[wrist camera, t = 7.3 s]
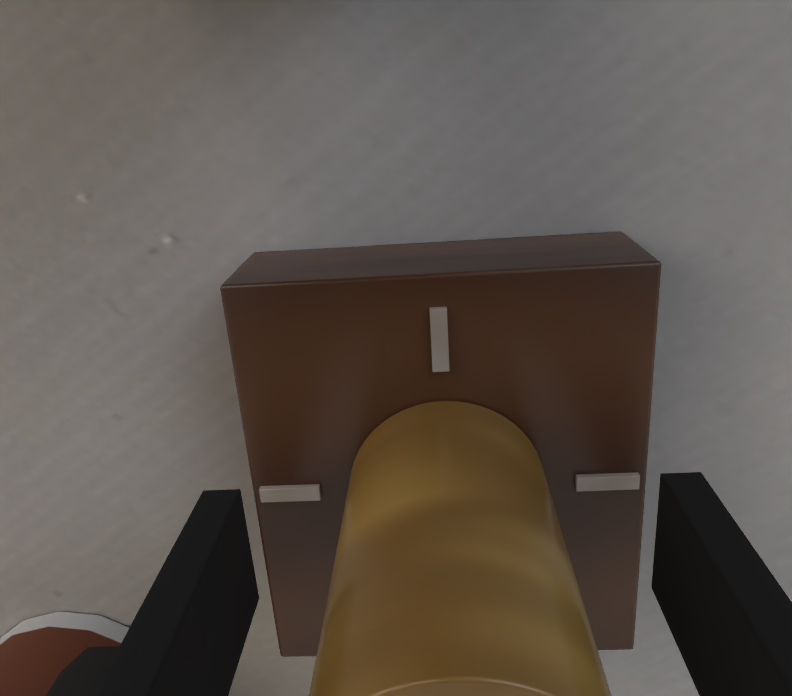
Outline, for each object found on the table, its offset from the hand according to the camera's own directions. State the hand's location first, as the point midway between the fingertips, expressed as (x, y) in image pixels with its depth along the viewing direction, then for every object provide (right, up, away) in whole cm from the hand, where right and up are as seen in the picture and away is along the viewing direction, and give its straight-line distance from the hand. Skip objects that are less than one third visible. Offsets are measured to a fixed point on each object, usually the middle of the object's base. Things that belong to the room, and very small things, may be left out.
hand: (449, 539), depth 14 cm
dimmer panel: (0, +2, +5) cm, 5 cm away
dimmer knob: (0, +1, +2) cm, 2 cm away
